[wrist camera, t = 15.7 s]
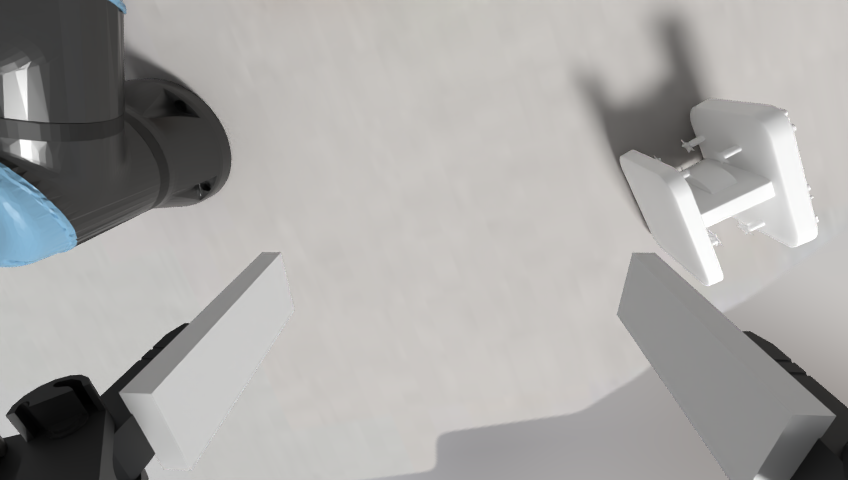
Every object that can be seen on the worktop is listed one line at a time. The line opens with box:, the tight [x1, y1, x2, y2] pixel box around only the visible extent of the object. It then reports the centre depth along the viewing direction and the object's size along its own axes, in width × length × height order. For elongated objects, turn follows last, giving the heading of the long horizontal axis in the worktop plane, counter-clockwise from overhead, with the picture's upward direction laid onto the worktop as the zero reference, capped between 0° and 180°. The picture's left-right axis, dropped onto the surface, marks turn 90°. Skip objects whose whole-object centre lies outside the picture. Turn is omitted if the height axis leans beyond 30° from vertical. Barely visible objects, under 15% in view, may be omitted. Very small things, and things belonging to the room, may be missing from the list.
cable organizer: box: [620, 98, 819, 286], centre depth 37 cm, size 15×11×12 cm
